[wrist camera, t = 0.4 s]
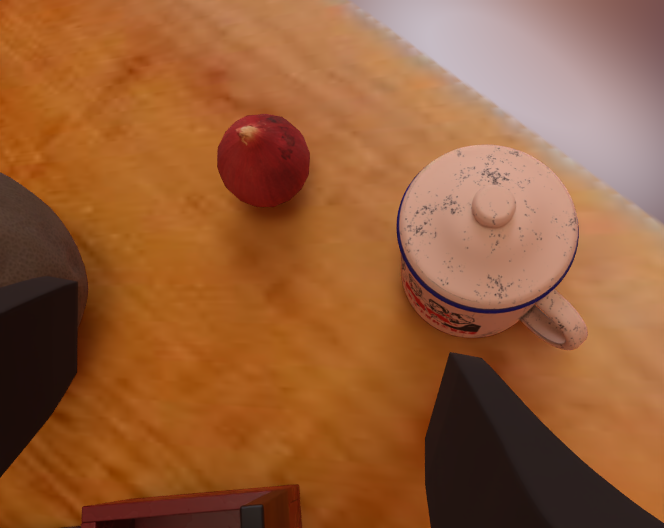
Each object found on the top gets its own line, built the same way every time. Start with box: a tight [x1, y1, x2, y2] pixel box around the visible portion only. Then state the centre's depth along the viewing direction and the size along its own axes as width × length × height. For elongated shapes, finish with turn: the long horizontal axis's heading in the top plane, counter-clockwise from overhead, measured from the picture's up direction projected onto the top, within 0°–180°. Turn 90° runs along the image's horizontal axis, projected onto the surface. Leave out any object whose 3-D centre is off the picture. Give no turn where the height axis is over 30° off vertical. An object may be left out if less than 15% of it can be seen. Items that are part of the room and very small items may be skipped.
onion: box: [217, 114, 310, 207], centre depth 39 cm, size 6×6×8 cm
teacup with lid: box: [397, 145, 588, 350], centre depth 34 cm, size 12×9×12 cm
